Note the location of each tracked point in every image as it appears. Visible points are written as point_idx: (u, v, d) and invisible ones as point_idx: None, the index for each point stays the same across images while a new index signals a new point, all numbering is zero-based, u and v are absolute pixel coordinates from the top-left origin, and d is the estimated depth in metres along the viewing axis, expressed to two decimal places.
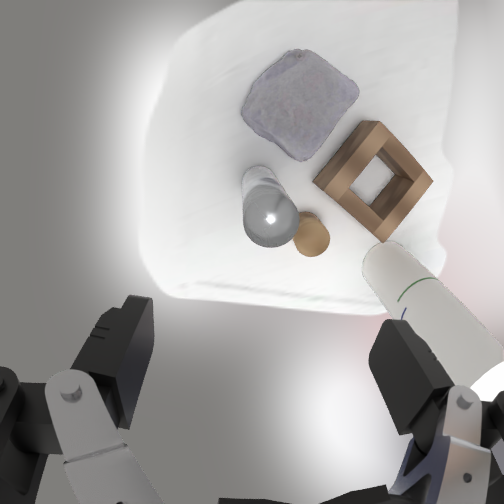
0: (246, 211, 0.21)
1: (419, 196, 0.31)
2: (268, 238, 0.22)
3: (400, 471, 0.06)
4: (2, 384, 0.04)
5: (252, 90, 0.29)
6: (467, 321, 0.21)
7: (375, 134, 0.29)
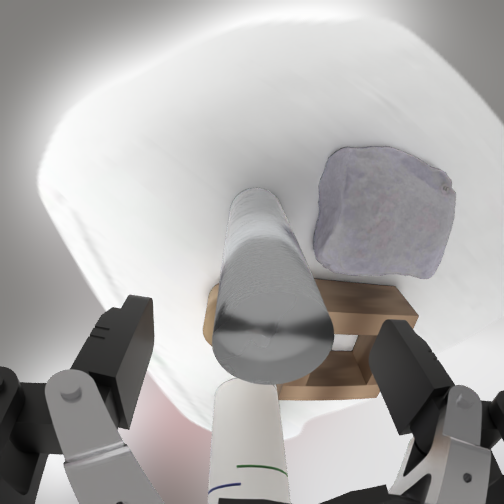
0: (269, 294, 0.09)
1: (353, 397, 0.25)
2: (236, 355, 0.10)
3: (400, 471, 0.06)
4: (2, 384, 0.04)
5: (380, 149, 0.20)
6: None
7: None
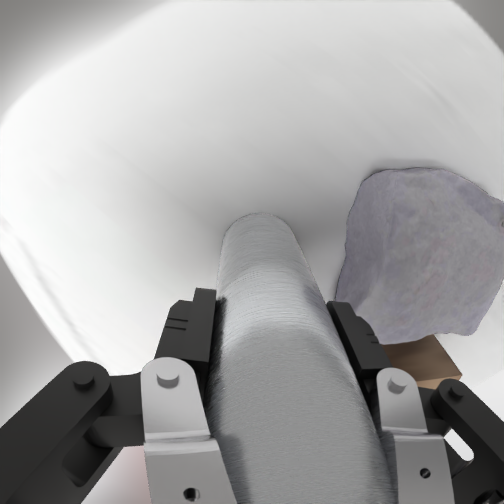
0: None
1: None
2: None
3: None
4: (91, 381, 0.05)
5: (434, 174, 0.13)
6: None
7: None
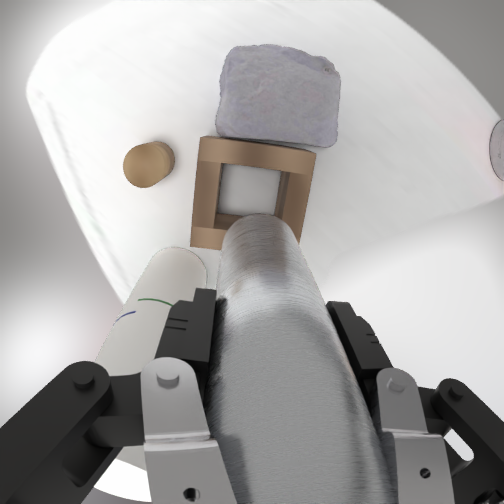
0: None
1: None
2: None
3: None
4: (91, 381, 0.05)
5: (261, 46, 0.24)
6: None
7: (298, 156, 0.25)
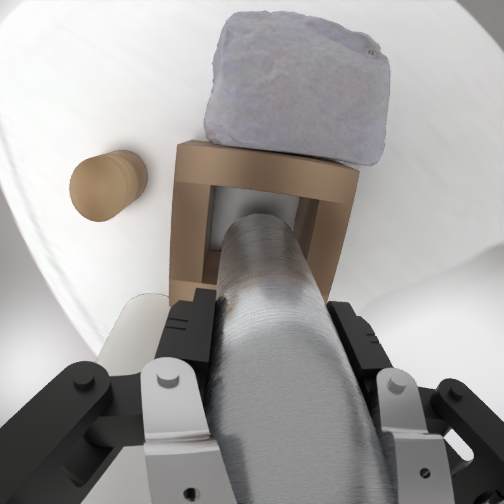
0: None
1: None
2: None
3: None
4: (91, 381, 0.05)
5: (275, 13, 0.15)
6: None
7: (332, 175, 0.16)
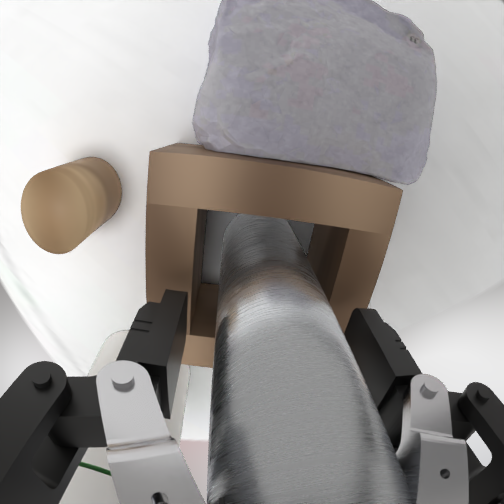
0: None
1: None
2: None
3: None
4: (49, 380, 0.05)
5: None
6: None
7: (368, 196, 0.11)
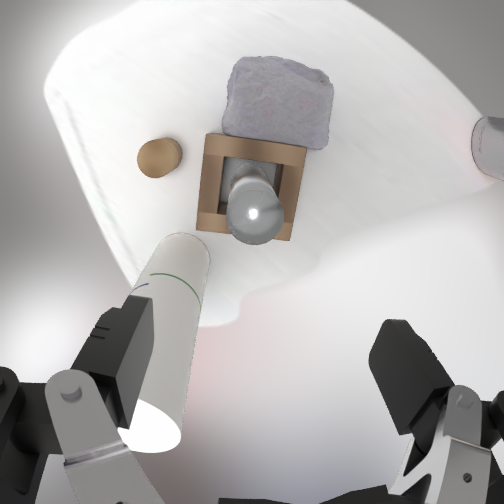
0: (252, 190, 0.20)
1: None
2: (237, 224, 0.21)
3: (400, 471, 0.06)
4: (2, 384, 0.04)
5: (266, 57, 0.28)
6: (177, 347, 0.20)
7: (291, 151, 0.29)
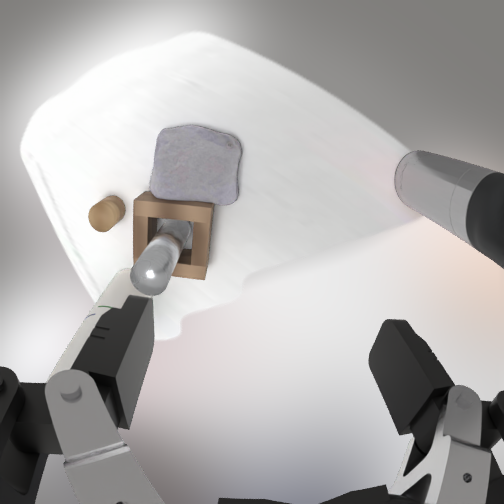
0: (143, 261, 0.28)
1: (184, 276, 0.40)
2: (137, 282, 0.29)
3: (400, 471, 0.06)
4: (2, 384, 0.04)
5: (182, 127, 0.36)
6: None
7: (198, 211, 0.37)
